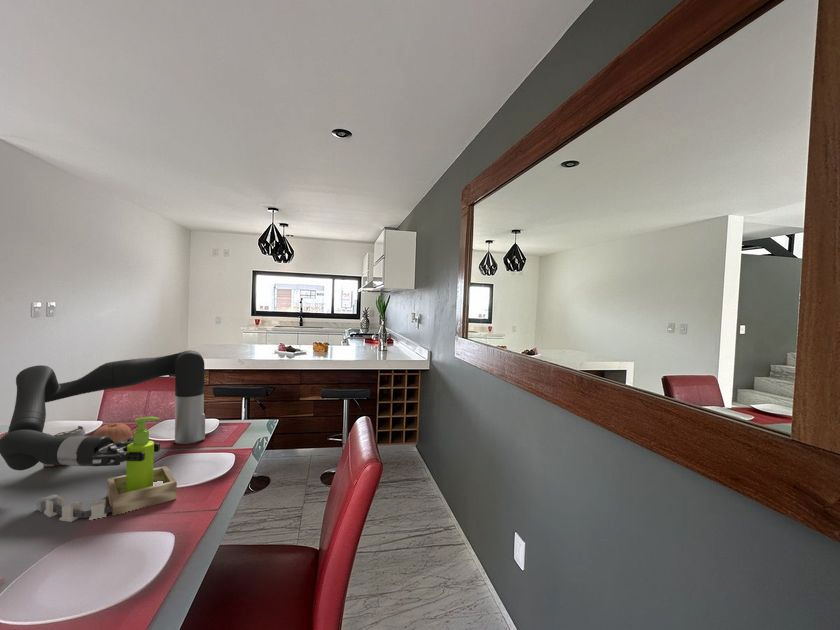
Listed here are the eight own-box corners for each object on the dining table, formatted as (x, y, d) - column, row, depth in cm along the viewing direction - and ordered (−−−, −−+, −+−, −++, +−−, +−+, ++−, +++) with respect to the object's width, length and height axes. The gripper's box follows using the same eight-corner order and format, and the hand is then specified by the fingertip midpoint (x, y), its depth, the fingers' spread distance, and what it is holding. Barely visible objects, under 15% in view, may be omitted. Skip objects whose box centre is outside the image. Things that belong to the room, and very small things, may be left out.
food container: (54, 472, 119) (54, 439, 119) (38, 470, 121) (37, 437, 120) (95, 456, 132) (95, 426, 131) (80, 455, 133) (80, 425, 132)
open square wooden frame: (166, 481, 116) (166, 465, 115) (176, 498, 106) (176, 481, 106) (107, 495, 107) (107, 478, 106) (112, 516, 97) (112, 497, 97)
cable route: (51, 502, 102) (51, 490, 102) (115, 512, 98) (115, 499, 98) (24, 514, 96) (24, 501, 96) (91, 525, 92) (91, 511, 92)
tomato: (128, 438, 149) (128, 417, 149) (133, 446, 142) (133, 424, 141) (90, 445, 142) (90, 423, 141) (94, 454, 134) (94, 430, 134)
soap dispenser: (156, 494, 105) (159, 419, 105) (124, 500, 102) (126, 422, 102) (157, 485, 110) (160, 413, 110) (126, 490, 107) (129, 416, 107)
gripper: (106, 454, 112) (167, 455, 113) (62, 476, 98) (133, 477, 99) (106, 428, 112) (167, 429, 113) (62, 446, 98) (133, 447, 99)
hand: (151, 452), depth 106 cm, fingers closed on soap dispenser, 6 cm apart
